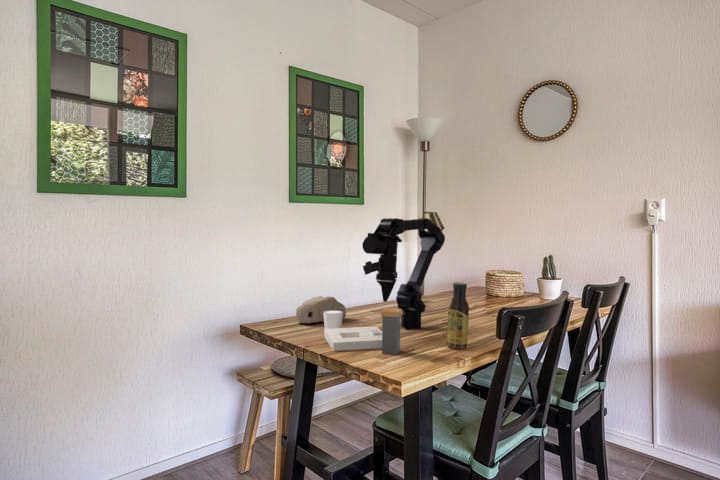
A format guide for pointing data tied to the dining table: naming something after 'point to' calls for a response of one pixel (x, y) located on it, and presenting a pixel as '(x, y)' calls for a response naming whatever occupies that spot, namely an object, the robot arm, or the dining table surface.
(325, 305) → the decorative stone
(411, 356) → the dining table surface
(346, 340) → the socket plate
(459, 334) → the sauce bottle
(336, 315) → the white tapered cup
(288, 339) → the dining table surface
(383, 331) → the plug
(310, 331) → the dining table surface
